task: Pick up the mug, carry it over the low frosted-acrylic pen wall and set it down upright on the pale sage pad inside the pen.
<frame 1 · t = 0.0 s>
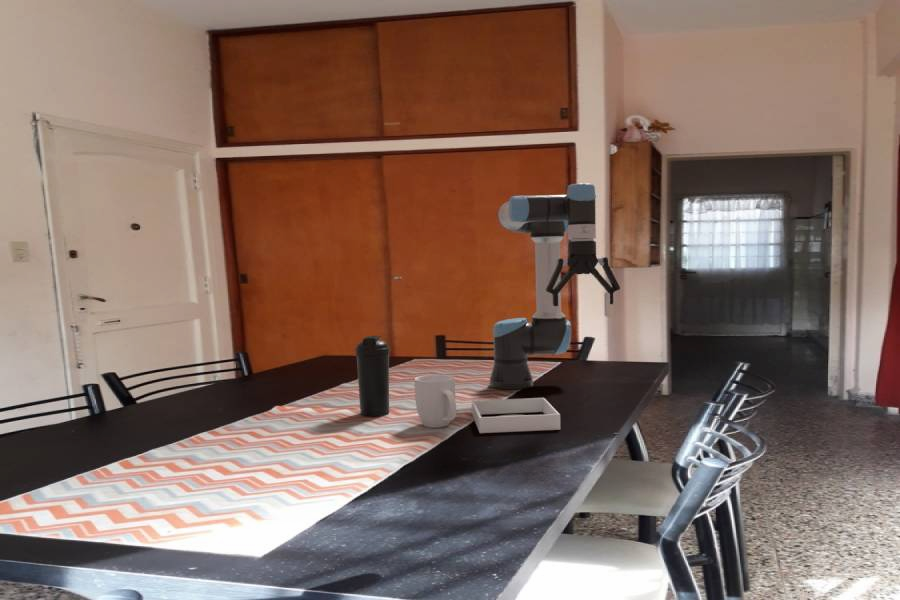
hand: (583, 317, 191), 28 cm above the table, fingers open, 13 cm apart
water bottle: (374, 414, 204), on the table
mug: (438, 426, 187), on the table
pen: (513, 421, 190), on the table
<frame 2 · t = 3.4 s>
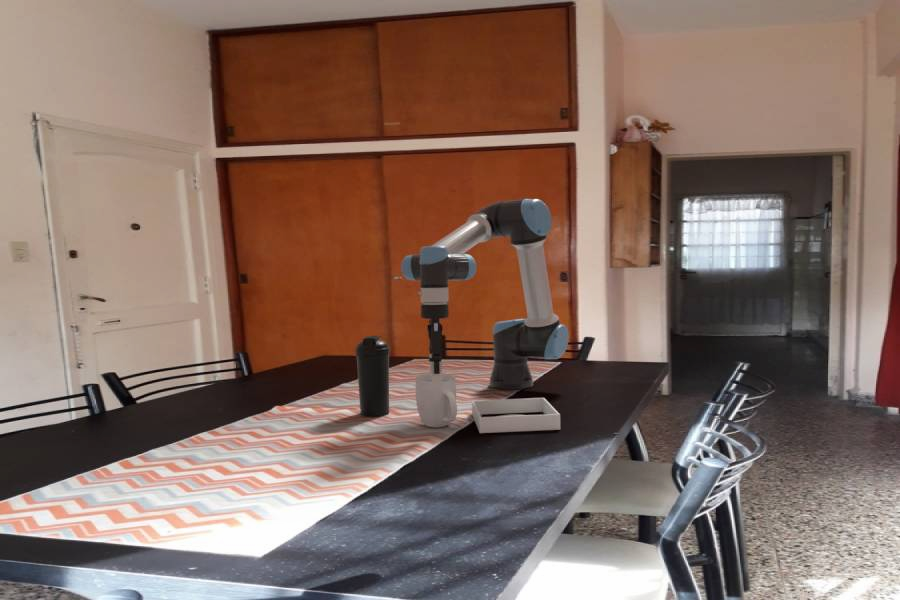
hand: (435, 381, 186), 12 cm above the table, fingers open, 13 cm apart
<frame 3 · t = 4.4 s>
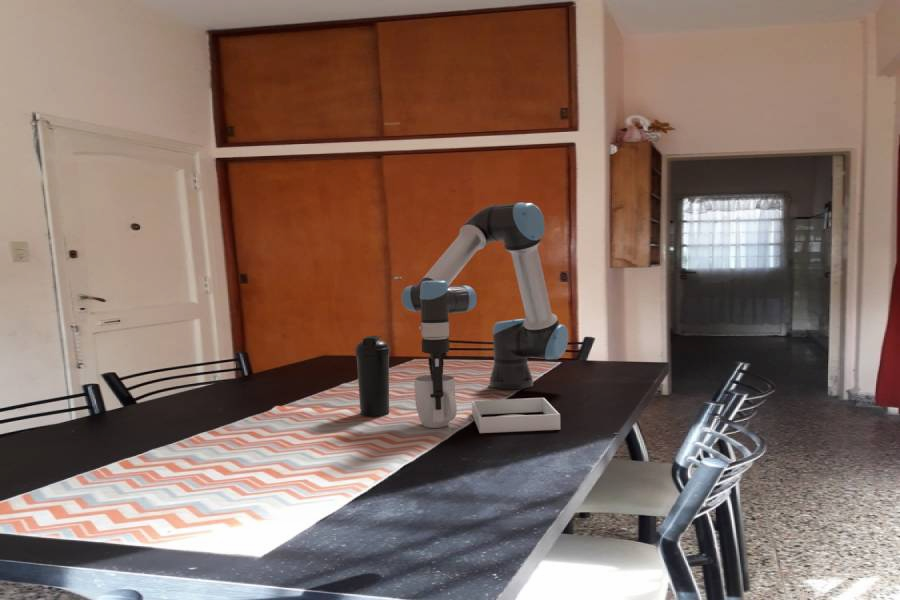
hand: (437, 415, 187), 3 cm above the table, fingers closed on mug, 13 cm apart
mug: (438, 426, 187), on the table, touching gripper
everything else where it was.
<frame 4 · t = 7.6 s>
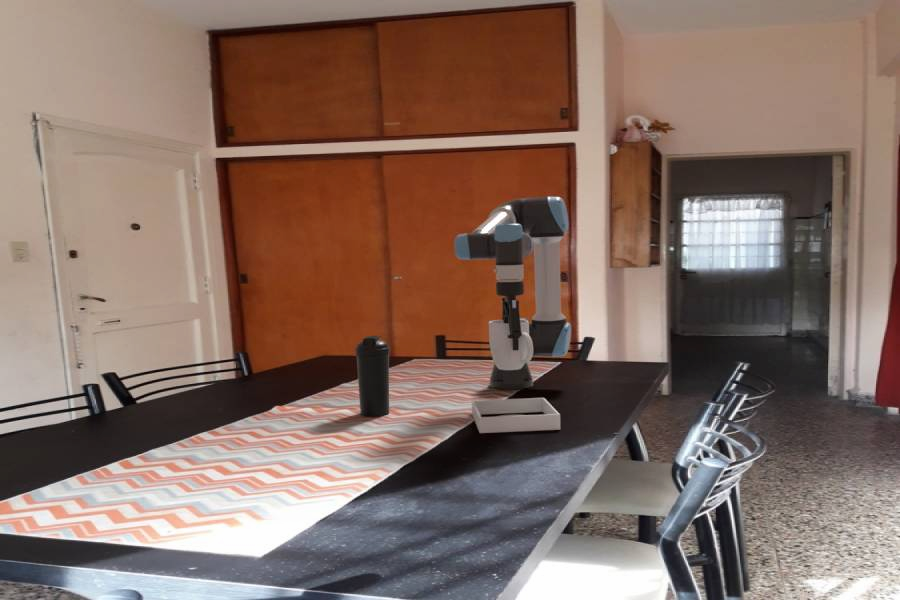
hand: (511, 358, 188), 17 cm above the table, fingers closed on mug, 13 cm apart
mug: (512, 369, 189), point 14 cm above the table, touching gripper
everything else where it was.
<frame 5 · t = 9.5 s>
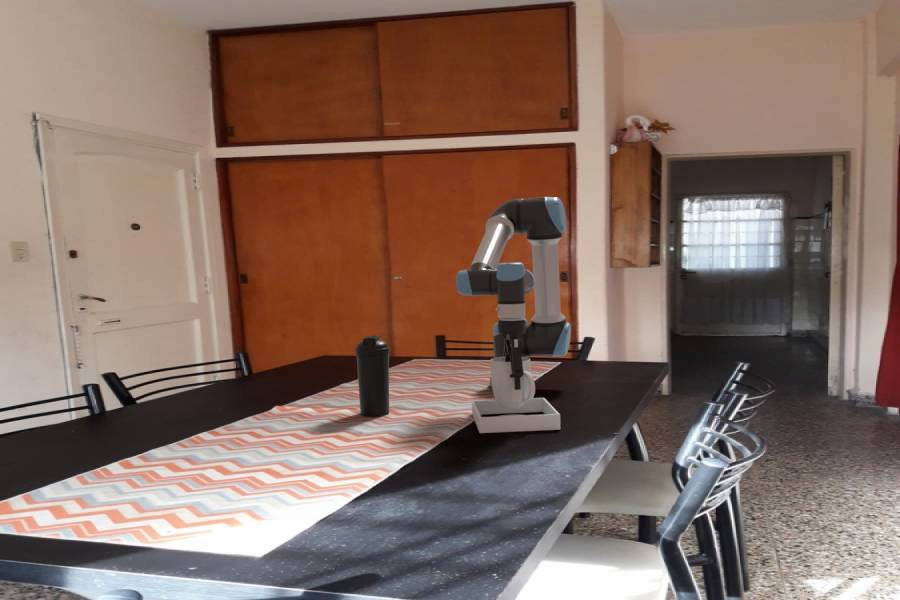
hand: (513, 396, 189), 7 cm above the table, fingers closed on mug, 13 cm apart
mug: (513, 407, 189), point 4 cm above the table, touching gripper
everything else where it was.
when the fingers open (4 cm above the table, at t = 10.9 s): mug stays where it is, resting on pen.
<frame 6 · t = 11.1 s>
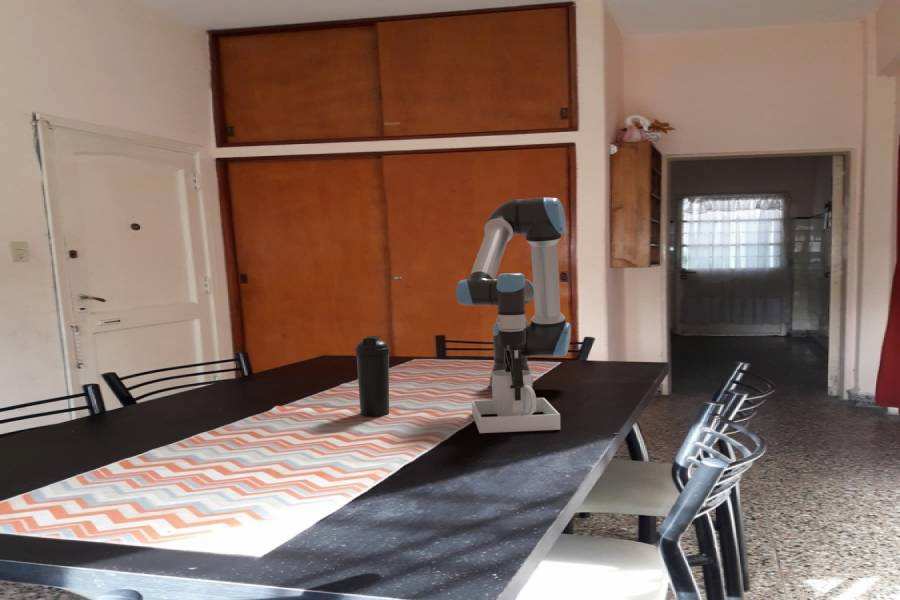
hand: (513, 406, 189), 4 cm above the table, fingers open, 13 cm apart
mug: (514, 420, 190), resting on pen, touching gripper
everything else where it was.
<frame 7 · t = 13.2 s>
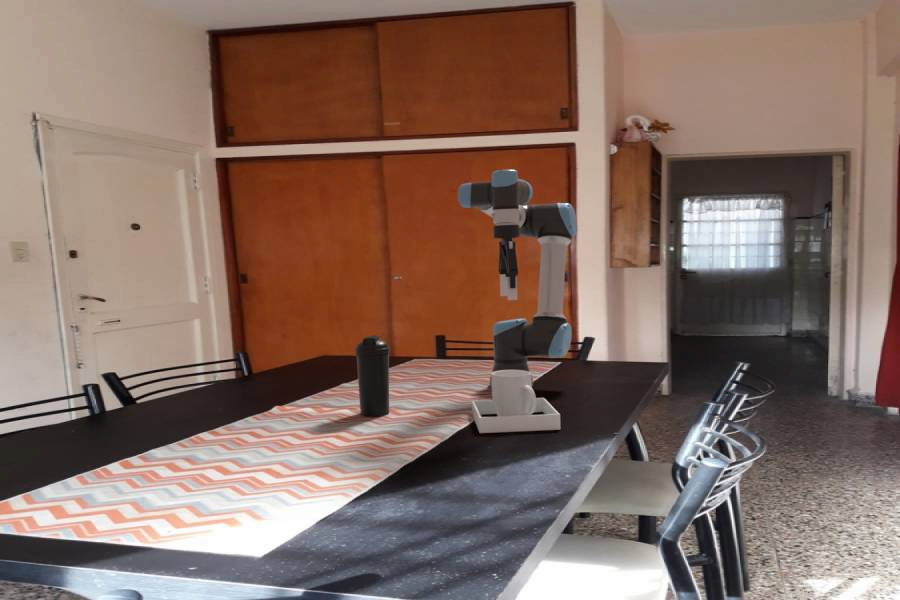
hand: (508, 298, 200), 33 cm above the table, fingers open, 13 cm apart
mug: (514, 420, 190), resting on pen
everything else where it was.
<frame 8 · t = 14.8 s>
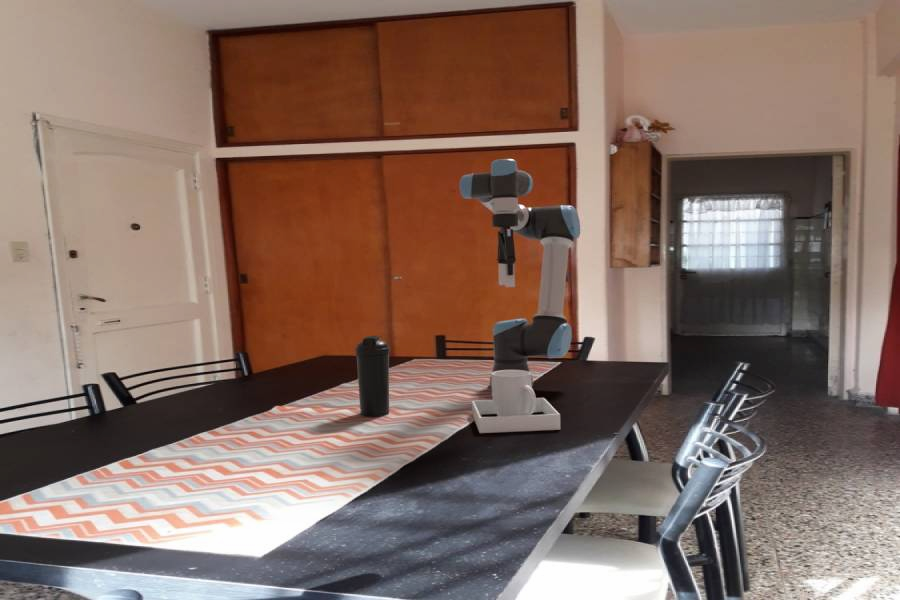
hand: (506, 286, 202), 37 cm above the table, fingers open, 13 cm apart
nothing on the table moved.
at the end: mug inside the target area on the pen (0.3 cm from its centre), point 0.1 cm above the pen's base; mug tilted 0°; the gripper is holding nothing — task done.
